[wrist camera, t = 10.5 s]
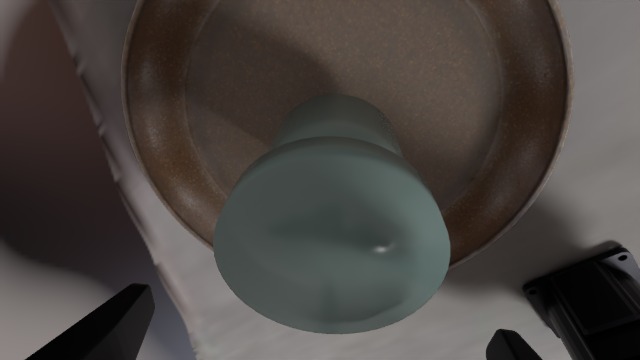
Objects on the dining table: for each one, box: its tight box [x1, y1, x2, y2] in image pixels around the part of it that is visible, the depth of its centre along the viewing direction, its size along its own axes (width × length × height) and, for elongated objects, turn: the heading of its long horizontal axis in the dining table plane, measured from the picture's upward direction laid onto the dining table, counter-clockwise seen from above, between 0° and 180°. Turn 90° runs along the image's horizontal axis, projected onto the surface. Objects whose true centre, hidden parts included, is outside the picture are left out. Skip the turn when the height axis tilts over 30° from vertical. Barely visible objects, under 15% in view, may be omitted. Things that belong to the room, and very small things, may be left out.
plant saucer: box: [121, 0, 574, 271], centre depth 18 cm, size 21×21×3 cm
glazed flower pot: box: [213, 94, 450, 334], centre depth 14 cm, size 7×7×7 cm
